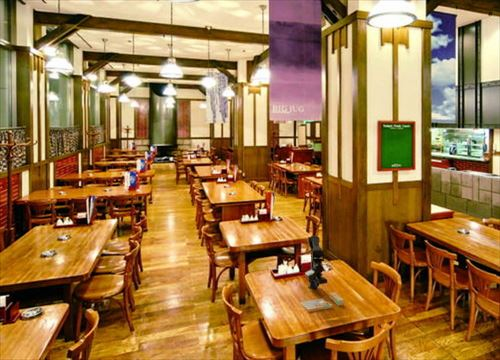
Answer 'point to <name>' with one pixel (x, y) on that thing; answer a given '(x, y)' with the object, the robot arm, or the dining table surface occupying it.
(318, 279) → the robot arm
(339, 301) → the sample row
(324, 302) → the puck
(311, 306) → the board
